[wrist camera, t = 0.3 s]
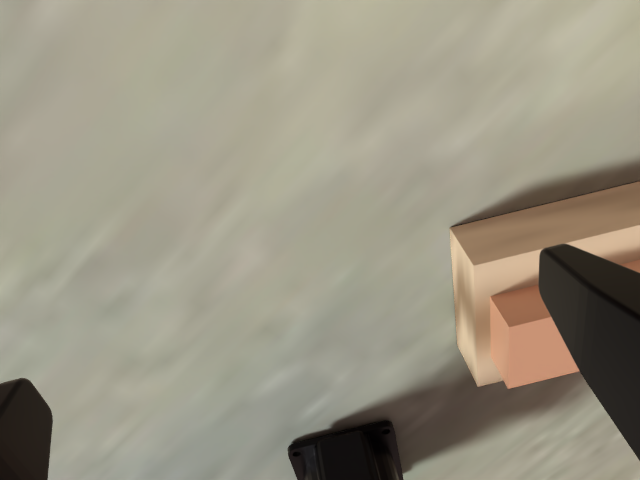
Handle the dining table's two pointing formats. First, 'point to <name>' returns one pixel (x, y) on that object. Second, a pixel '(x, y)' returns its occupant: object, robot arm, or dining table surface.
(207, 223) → the dining table surface
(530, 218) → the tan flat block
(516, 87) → the dining table surface
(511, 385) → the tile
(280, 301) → the dining table surface
